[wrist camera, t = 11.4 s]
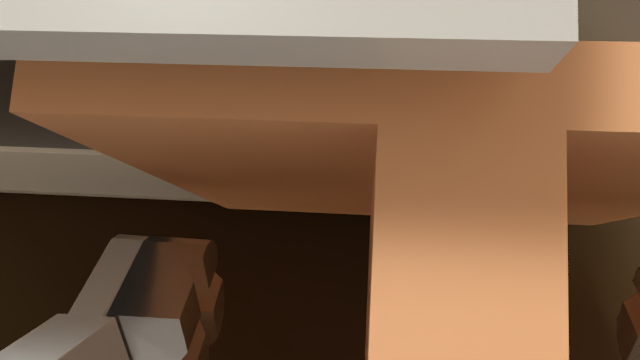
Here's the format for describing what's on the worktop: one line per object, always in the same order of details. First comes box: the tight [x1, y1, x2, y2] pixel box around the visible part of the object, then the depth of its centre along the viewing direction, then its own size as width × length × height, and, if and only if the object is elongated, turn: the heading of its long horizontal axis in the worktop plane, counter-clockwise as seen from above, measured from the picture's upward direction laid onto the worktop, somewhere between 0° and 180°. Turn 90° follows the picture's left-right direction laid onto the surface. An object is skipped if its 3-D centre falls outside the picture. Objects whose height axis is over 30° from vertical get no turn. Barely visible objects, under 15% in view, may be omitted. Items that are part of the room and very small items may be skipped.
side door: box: [9, 41, 640, 360], centre depth 9 cm, size 8×5×8 cm, turn 87°
